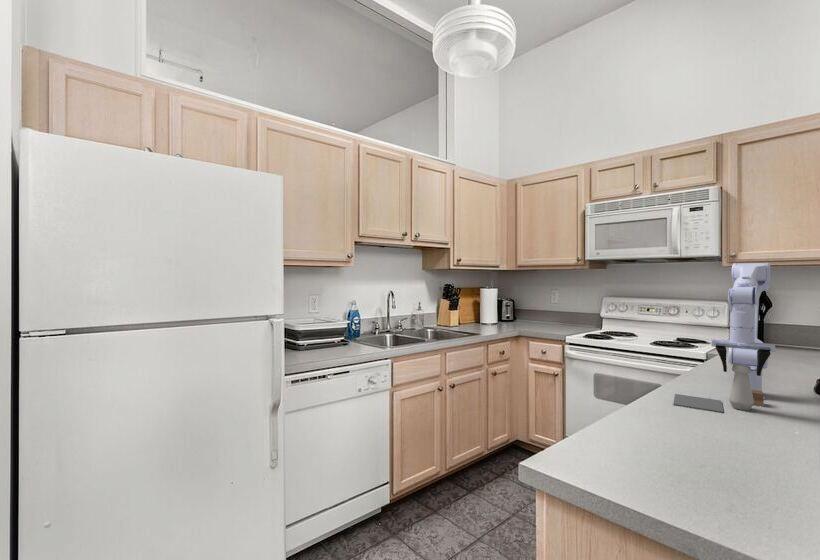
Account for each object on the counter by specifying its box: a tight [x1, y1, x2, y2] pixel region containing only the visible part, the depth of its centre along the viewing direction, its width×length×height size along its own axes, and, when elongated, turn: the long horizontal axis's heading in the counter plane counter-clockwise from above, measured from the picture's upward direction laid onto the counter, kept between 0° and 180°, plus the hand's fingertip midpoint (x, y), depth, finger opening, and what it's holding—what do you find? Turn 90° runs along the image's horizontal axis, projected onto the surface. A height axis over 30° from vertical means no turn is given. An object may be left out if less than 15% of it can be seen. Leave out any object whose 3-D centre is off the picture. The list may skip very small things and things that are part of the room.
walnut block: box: [752, 390, 765, 408], centre depth 125 cm, size 4×4×4 cm
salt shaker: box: [728, 364, 754, 412], centre depth 120 cm, size 6×6×13 cm
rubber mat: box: [672, 393, 724, 414], centre depth 125 cm, size 13×12×1 cm
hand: (741, 373), depth 120 cm, fingers open, 7 cm apart
